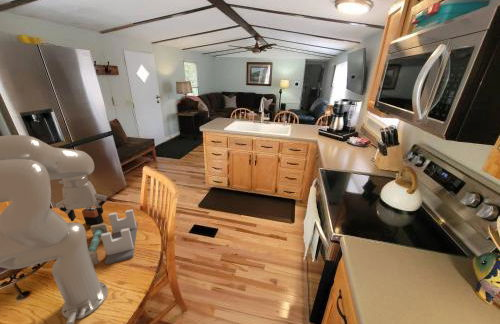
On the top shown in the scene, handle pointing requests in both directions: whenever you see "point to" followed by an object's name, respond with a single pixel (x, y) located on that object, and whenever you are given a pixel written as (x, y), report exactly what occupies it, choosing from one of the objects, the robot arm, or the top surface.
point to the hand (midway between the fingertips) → (87, 216)
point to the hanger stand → (120, 237)
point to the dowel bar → (96, 240)
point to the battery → (92, 216)
